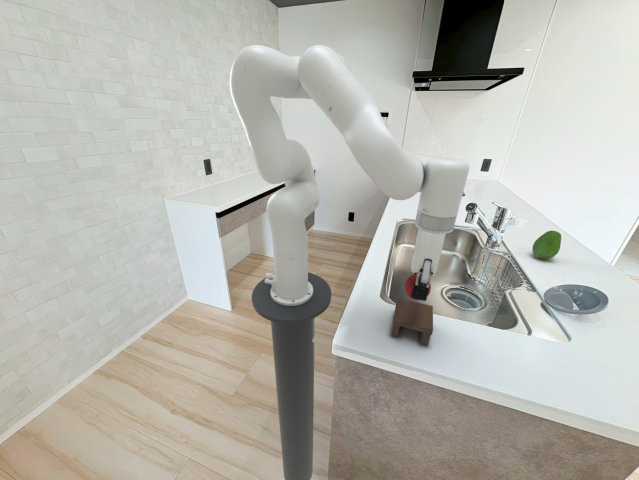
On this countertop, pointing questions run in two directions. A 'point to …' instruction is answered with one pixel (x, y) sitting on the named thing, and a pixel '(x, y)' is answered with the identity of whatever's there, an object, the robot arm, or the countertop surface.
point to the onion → (410, 284)
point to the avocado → (547, 245)
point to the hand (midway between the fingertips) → (419, 289)
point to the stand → (413, 318)
